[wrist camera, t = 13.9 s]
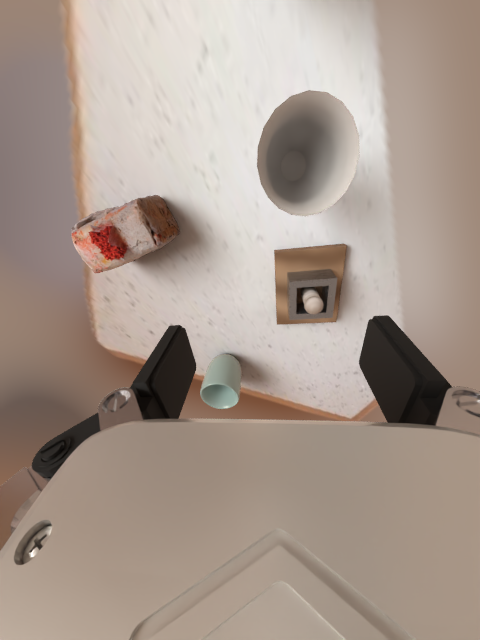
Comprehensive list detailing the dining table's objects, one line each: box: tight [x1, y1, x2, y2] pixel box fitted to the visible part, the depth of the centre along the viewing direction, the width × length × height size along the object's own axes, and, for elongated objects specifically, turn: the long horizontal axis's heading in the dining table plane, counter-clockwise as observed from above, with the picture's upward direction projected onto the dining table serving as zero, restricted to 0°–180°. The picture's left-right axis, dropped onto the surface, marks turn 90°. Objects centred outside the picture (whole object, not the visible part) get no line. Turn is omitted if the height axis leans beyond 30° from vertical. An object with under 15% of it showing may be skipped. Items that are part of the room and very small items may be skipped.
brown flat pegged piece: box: [274, 244, 347, 324], centre depth 36 cm, size 14×11×8 cm
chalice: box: [257, 90, 359, 216], centre depth 23 cm, size 7×7×18 cm
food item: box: [71, 195, 180, 273], centre depth 33 cm, size 14×8×10 cm, turn 113°
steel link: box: [287, 269, 337, 320], centre depth 37 cm, size 7×7×4 cm
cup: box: [200, 354, 242, 409], centre depth 47 cm, size 8×8×10 cm
